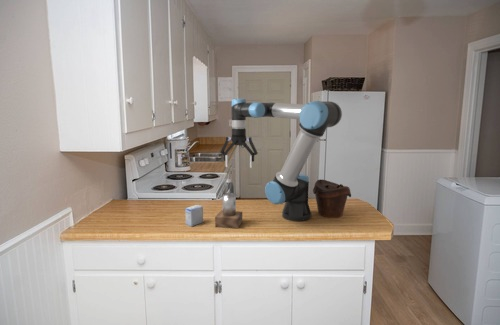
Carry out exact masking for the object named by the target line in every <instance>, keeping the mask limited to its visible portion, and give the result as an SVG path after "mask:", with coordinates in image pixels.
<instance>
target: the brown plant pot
mask: <svg viewBox="0 0 500 325" xmlns="http://www.w3.org/2000/svg"><path fill="white" fill-rule="evenodd" d="M312 192H313V194H314V195H315V201H316V206H317V207H316V208H317V210H318V211H317V212H318V214H319V215H320V216H322V217H325V218H340V217H343V214H344V210H345V206H346V202H347V200H348V197H349V198H351V197H352V193H351V189H350V187H349V186H345V185H343V184H342V183H341V184H338V183H336V182H333V181H329V180H326V179H317V180H316V181H315V182H314V187H313V189H312Z"/></svg>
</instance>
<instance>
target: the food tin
mask: <svg viewBox="0 0 500 325" xmlns="http://www.w3.org/2000/svg"><path fill="white" fill-rule="evenodd" d="M236 195H237V194H236V193H234V192H226V193H223V194H222V210H223V215H224V216H234V215H236V211H237V210H236V208H237V202H236V199H237V198H236Z"/></svg>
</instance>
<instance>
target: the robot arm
mask: <svg viewBox="0 0 500 325" xmlns="http://www.w3.org/2000/svg"><path fill="white" fill-rule="evenodd" d="M230 106H231V137H230V136H227V137H226V138H225V142H224V144H223V145H222V148H221V150H220V152H219V153H220V155H223V161H225V168H228V167H229V154H228V153H230V150H231V149H233V147H234V146H243V147H244V148H245V149H246V151H247V152H248V153H249V154H250V155H249V168H250V169H252V168H253V163H254V162H255V156H256V155H258V151H257V149H256V146H255V144H254V143H253V138H252V136H249V137H247V131H246V126H247V124H246V123H247V122H246V121H247V120H246V119H247V118H253V119H254V118H255V119H256V118H257V119H258V118H280V119H291V120H299V124H298V126H299V129H300V130H299V132H298V133H297V137H296V138H295V140H294V143H293V145H292V147H291V149H290V151H289V153H288V155H287V158H286V160H285V161H284V164H283V166H282V168H281V169H280V171H277V172H276V174H275V175H274V178H273V179H272V180H271V181H269V182H267V183H266V184H265V187H264V192H265V195H266V199H267V200H268V201H269V202H270V203H271V204H272V205H273V204H274V205H283V204H284V206H283V209H282V211H281V216H282V218H283V219H285V220H288V221H292V222H304V221H308V220H310V219H312V212H311V209H310V204H309V188H310V186H309V184H310V180H309V178H310V177H309V176H308V175H307V174H304V173H301V172H302V170H303V168H304V166H305V164H306V162H307V160H308V158H309V156H310V154H311V152H312V150H313V149H314V147H315V145H316V143H317V140H319V139H318V138H322V137H323V136H324V135H325V132H326V130H327V129H328V128H332V127H334V126H336V125H338V124H339V123H340V121H341V120H342V116H343V112H342V109H341V107H340V105H339V104H338V103H336V102H334V101H320V100H313V101H309V102H307V103H305V104H304V103H303V104H302V103H285V102H284V103H281V102H271V101H270V102H258V101H257V102H246V98H233V99H231V105H230ZM230 141H231V142H232V143H230V145H229V147H228V144H229V142H230ZM246 141H247V142H249V145H250V146H249V145H248V144H247V143H246Z"/></svg>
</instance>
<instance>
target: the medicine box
mask: <svg viewBox="0 0 500 325" xmlns="http://www.w3.org/2000/svg"><path fill="white" fill-rule="evenodd" d="M184 211H185V216H184V217H185V225H186V226H188V227H194V226H196V225H199V224H202V223H204V207H203V206H202V205H199V204H195V205H191V206H189V207H186V208H185V210H184Z"/></svg>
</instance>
